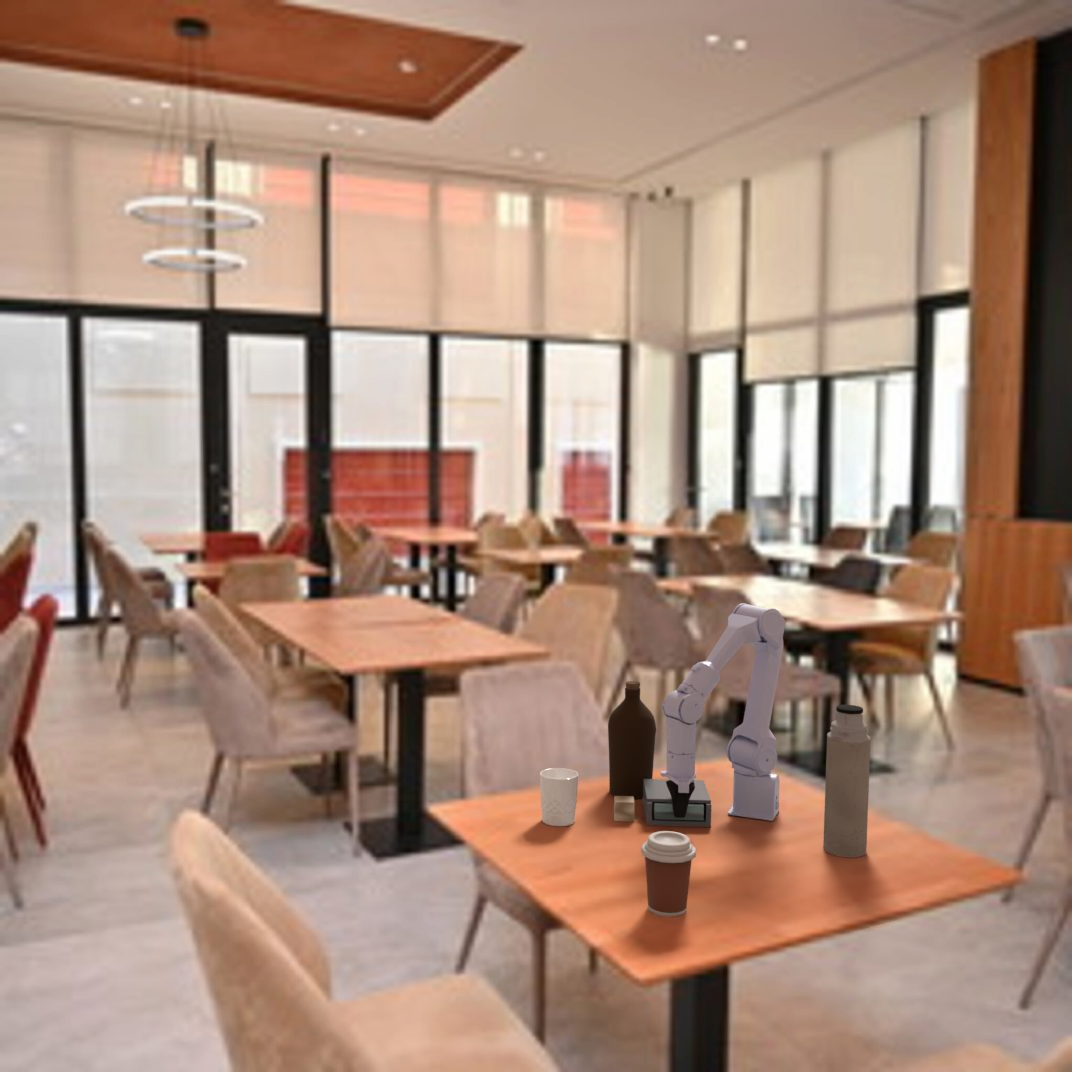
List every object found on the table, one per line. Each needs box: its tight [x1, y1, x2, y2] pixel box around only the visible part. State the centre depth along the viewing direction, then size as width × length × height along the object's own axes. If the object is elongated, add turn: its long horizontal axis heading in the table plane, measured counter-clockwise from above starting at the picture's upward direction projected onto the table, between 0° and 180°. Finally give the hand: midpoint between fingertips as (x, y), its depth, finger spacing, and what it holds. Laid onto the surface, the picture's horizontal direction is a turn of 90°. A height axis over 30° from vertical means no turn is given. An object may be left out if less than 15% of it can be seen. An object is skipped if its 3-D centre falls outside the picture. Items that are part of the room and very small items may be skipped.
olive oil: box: [607, 680, 657, 800], centre depth 237 cm, size 11×11×25 cm
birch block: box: [613, 795, 635, 823], centre depth 221 cm, size 4×4×4 cm
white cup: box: [539, 767, 579, 827], centre depth 219 cm, size 8×8×10 cm
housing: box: [642, 778, 712, 828], centre depth 224 cm, size 13×14×5 cm
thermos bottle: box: [822, 704, 872, 858], centre depth 204 cm, size 8×8×28 cm
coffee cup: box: [640, 830, 697, 918], centre depth 177 cm, size 9×9×12 cm
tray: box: [652, 802, 704, 820], centre depth 223 cm, size 10×12×3 cm
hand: (679, 817), depth 216 cm, fingers closed
